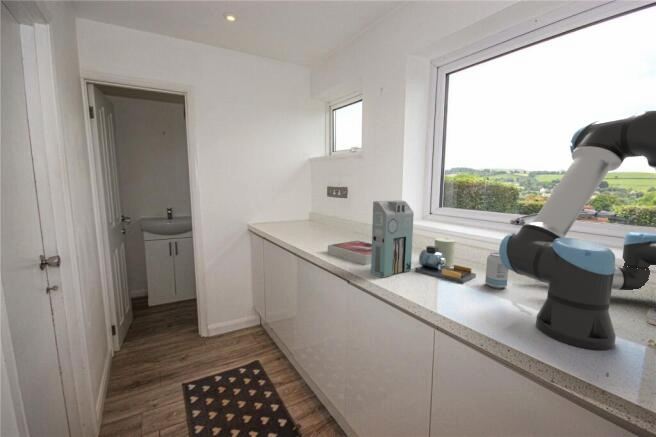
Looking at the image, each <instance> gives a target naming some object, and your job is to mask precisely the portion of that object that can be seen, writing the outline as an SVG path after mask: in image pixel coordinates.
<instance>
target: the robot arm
mask: <svg viewBox="0 0 656 437" xmlns="http://www.w3.org/2000/svg"><path fill="white" fill-rule="evenodd" d="M570 143H571V144H570V146H569V148H570V153H571V158H572V160H573V161H572V163H571V164H570V166H569V167H568V169H567V170H566V172H565V173H564V175H563V176H562V178H561V179H560V180H559V182H558V184H557V185H556V187H555V188H554V189H553V191H552V192H551V194H550V195H549V197H548V198H547V200H546V201H545V202H544V204H543V205H542V207H541V209H540V210H539V212H538V213H537V215H536V216H535V217H534V219H533V220H532V222H529V223H524V224H523V225H522V226H521V228H520V229H519V231H518V232H513V233H510V234H507V235H505V236H504V238H502V240H501V242H500V244H499V250H498V253H499V254H500V260H501V262H502V264H503V265H504V266H505V267H506V268H507V269H508V271H511V272H513V273H515V274H517V275H520V276H524V277H528V278H529V279H533V280H534V281H535V282H536V283H544V284H546V285H548V286H547V295H546V299H545V301H544V303H543V304H542V306H541V308H540V309H539V311H538V312H537V314H536V319H535V326H536V328H537V329H538V330H539V331H541V332H542V333H543V334H545V335H546V336H548V337H550V338H552V339H554V340H557V341H559V342H562V343H565V344H568V345H571V346H575V347H579V348H584V349H589V350H595V351H597V350H599V351H604V350H611V349H613V348H614V347H615V345H616V338H617V337H616V331H615V329H614V325H613V322H612V318H611V316H610V313H609V312H610V310H609V308H610V303H611V296H612V291H613V290H615V291H617V290H618V291H625V290H633V289H639V288H641V287H642V286H644V285H645V283H646V282H647V281H648V280H649V279H648V278H649V275H650V270H649V268H648V267H649V266H650V265H656V233H651V232H642V231H630V232H628V233H626V235H625V239H624V243H623V245H622V246H623V250H622V258H623V259H624V261H625V263H624V266H623V268H621V266H619V267H618V266H616V256H615V253H614V251H612V249H610V248H609V247H607V246H605V245H602V244H600V243H597V242H592V241H589V240H585V239H577V238H573V237H565V236H566V235H567V234H568V233H569V231H570V229H571V228H572V226H573V225H574V223H576V221H577V219H578V217H579V216H580V214H581V213H582V211H583V210H584V208H586V205H587V204H588V203H589V201H590V200H591V198H592V197H593V196H594V194H595V192H596V190H598V188H599V186H600V185H601V184H602V182H603V180H604V179H605V177H606V176H607V174H608V173H609V172H612V171H615V170H617V169H619V168H620V166H621V165H622V164H623V162H624V160H626V159H627V158H635V157H644V158H645V159H646V161H647V164H648V167H651V168H653V169H655V170H656V110H648V111H647V110H646V111H642V112H637V113H632V114H627V115H620V116H613V117H608V118H601V119H597V120H594V121H590V122H588V123H585V124H583V125H582V126H580V127H579V128H578V129H577V130H576V131H575V132H574V134H573V135H572V138H571V139H570ZM622 258H621V259H622ZM627 266H628V267H627ZM637 268H638V269H637ZM645 269H646V270H645Z"/></svg>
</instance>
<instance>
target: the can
mask: <svg viewBox="0 0 656 437" xmlns="http://www.w3.org/2000/svg"><path fill="white" fill-rule="evenodd" d="M434 247H439V252H438V253H443V254H444V256H445V259H446V264H445V265H444V266H445V267H454V265H455V255H456V254H455V252H456V251H455V250H456V239H453V238H448V237H436V238H434Z"/></svg>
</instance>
